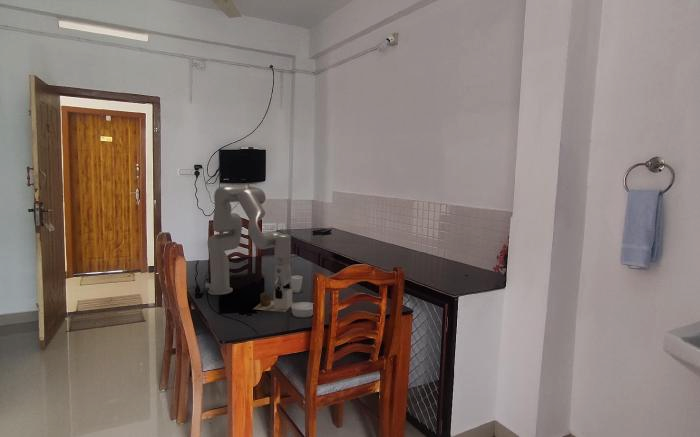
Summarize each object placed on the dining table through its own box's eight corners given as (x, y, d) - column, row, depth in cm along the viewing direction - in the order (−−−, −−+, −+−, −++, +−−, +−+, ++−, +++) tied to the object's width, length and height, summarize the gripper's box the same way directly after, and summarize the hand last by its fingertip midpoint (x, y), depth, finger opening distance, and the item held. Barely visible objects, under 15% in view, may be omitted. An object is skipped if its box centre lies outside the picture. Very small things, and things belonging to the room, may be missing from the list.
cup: (302, 293, 231) (302, 278, 230) (283, 293, 230) (283, 279, 229) (302, 289, 238) (302, 275, 237) (284, 289, 237) (284, 275, 236)
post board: (252, 312, 201) (252, 297, 200) (264, 303, 214) (264, 289, 213) (285, 315, 197) (284, 300, 196) (295, 305, 211) (295, 291, 210)
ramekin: (316, 321, 190) (316, 309, 189) (290, 321, 189) (290, 310, 189) (316, 312, 201) (316, 301, 201) (291, 313, 200) (291, 302, 200)
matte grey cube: (274, 308, 202) (273, 292, 201) (279, 303, 208) (279, 288, 207) (287, 309, 201) (287, 293, 200) (292, 304, 207) (292, 289, 206)
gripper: (283, 265, 193) (283, 301, 195) (296, 256, 209) (296, 290, 212) (267, 263, 194) (267, 300, 196) (281, 255, 211) (281, 289, 213)
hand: (282, 295), depth 204 cm, fingers open, 9 cm apart
